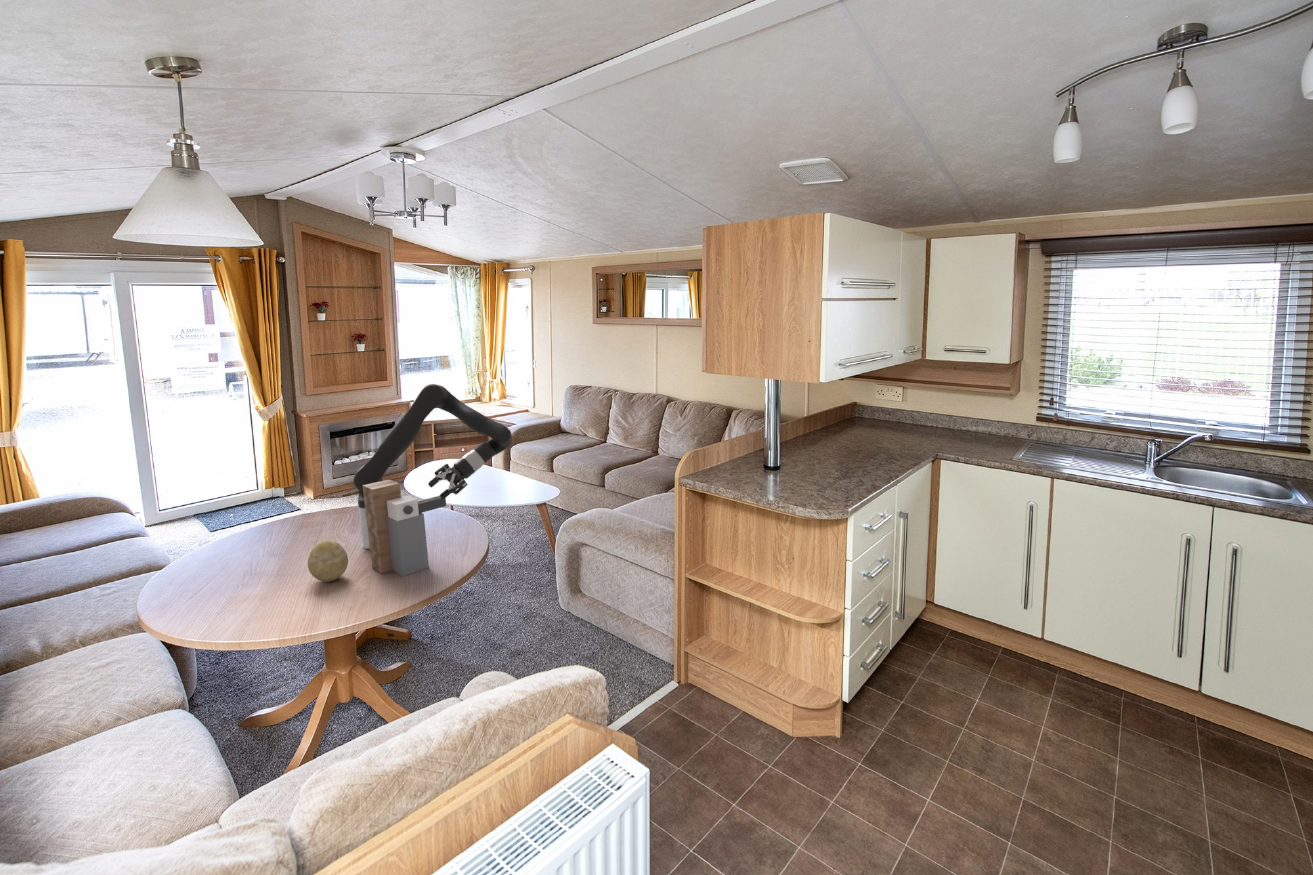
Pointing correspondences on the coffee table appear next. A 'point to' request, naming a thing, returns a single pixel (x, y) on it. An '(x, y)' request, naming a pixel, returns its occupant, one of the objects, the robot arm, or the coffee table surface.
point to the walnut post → (379, 521)
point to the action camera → (412, 506)
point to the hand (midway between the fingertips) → (435, 491)
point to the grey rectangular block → (408, 544)
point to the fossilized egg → (327, 561)
